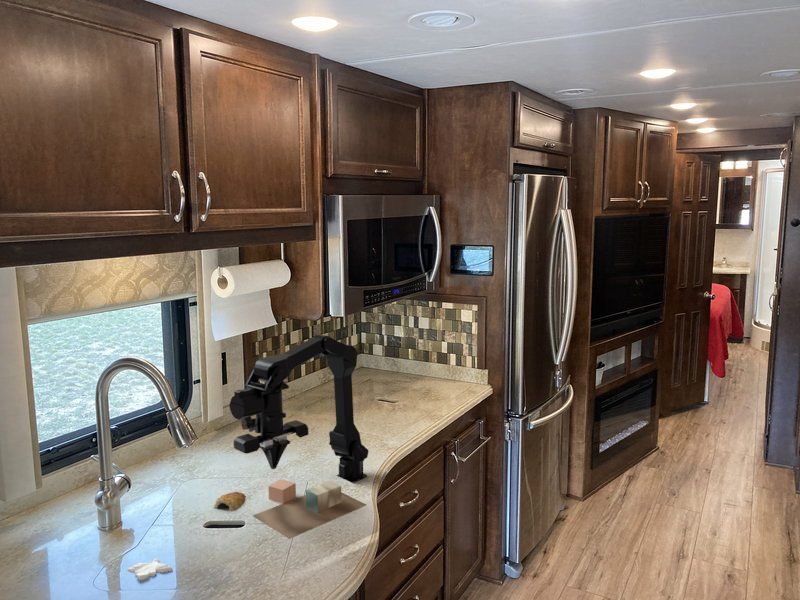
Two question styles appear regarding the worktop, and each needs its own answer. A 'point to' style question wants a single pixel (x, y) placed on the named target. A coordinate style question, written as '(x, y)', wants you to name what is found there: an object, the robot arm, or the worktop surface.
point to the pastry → (230, 501)
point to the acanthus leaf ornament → (149, 569)
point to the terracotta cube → (282, 491)
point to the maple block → (323, 496)
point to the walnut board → (304, 515)
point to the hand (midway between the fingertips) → (273, 468)
